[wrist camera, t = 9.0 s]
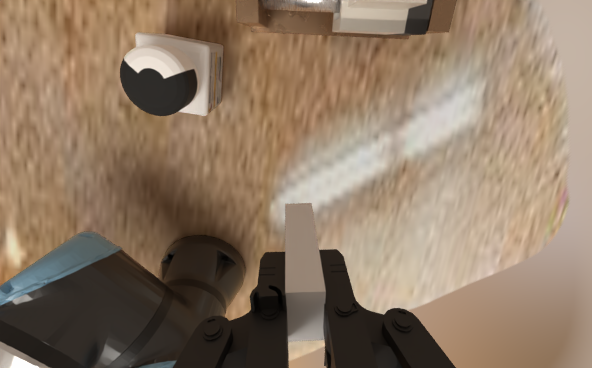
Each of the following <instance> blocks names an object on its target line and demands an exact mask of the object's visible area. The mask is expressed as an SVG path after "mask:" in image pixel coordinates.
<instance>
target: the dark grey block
mask: <svg viewBox="0 0 592 368" xmlns="http://www.w3.org/2000/svg"><path fill="white" fill-rule="evenodd" d="M432 2H433V0H427V4H423V5H420V6H416V7H413V8H409V10H408V16H407V21H406V26H405V31H404V33H401V34H388V35H422V34H426V30H427V25H428V21H429V16H430V11H431V7H432Z"/></svg>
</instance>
